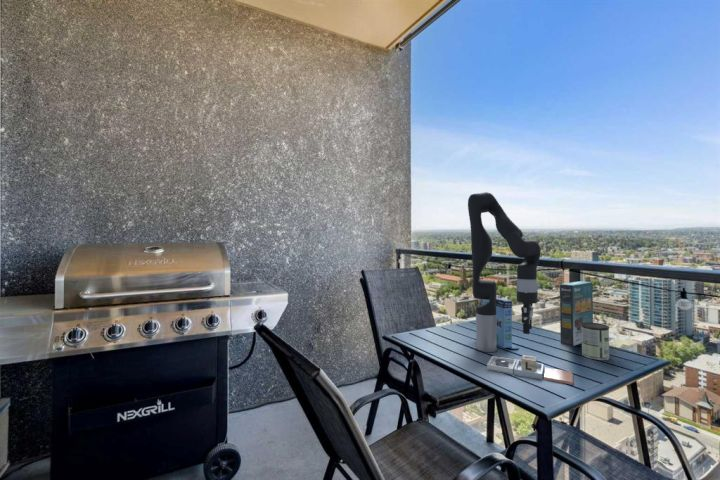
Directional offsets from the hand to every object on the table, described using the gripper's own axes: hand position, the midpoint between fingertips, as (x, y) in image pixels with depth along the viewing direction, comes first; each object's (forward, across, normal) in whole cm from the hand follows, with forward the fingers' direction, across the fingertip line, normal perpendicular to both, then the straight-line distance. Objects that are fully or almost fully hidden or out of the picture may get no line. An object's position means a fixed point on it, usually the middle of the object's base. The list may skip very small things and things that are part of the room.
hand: (527, 331), depth 133 cm
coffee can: (+16, -36, +24) cm, 46 cm away
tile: (+16, -1, +10) cm, 19 cm away
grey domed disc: (+16, 0, -10) cm, 18 cm away
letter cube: (+16, 0, 0) cm, 16 cm away
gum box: (+16, -36, -18) cm, 44 cm away
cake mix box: (+16, -60, +17) cm, 64 cm away
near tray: (+16, 0, -10) cm, 19 cm away
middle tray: (+16, -1, 0) cm, 16 cm away
